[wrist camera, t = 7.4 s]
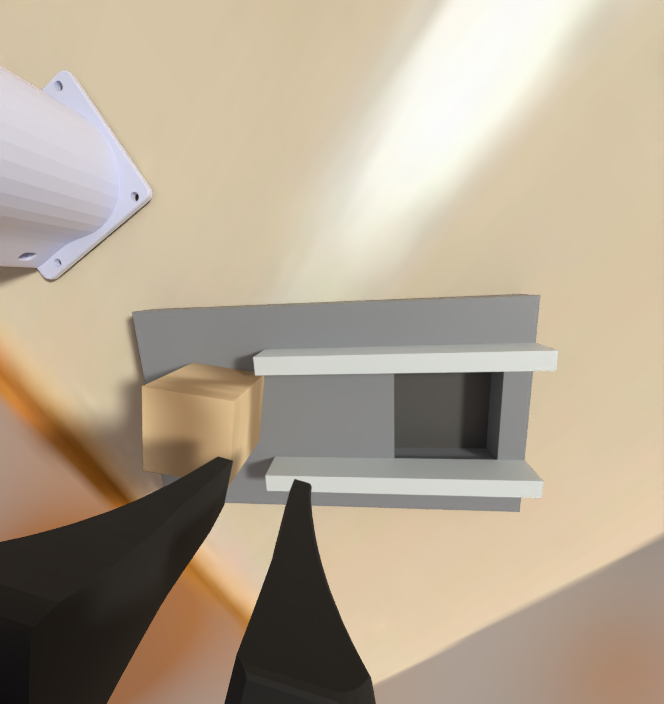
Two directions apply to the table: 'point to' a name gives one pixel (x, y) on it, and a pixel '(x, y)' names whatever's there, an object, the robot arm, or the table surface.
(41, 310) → the table surface
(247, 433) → the block
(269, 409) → the rail jig base
